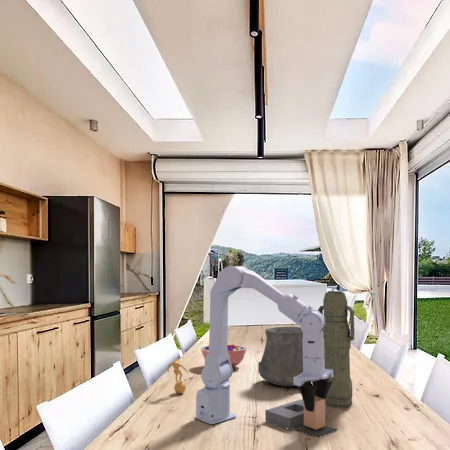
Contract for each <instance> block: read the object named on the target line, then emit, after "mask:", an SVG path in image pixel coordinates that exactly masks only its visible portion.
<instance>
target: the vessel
mask: <svg viewBox="0 0 450 450" xmlns="http://www.w3.org/2000/svg"><path fill="white" fill-rule="evenodd" d="M264 332H265V335H266V337H265V339H266V340H265V346H264V350H263V353H262V356H261V360H260V361H259V362H258V363H257V365H258V366H257V367H258V374H259V376H260V377H261V378H262V379H263V380H264V381H267V382H269V383H271V384H273V385H276V386H281V387H297V385H294V384H293V377H296V376H298V375H300V374H301V373H303V331H302V330H301V328H300V327H299V326H278V327H276V326H275V327H270V328H265V331H264Z"/></svg>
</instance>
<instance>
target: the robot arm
mask: <svg viewBox="0 0 450 450" xmlns="http://www.w3.org/2000/svg"><path fill="white" fill-rule="evenodd" d="M243 288H245V289H254V290H255V291H256V292H258V293H260V294H261V295H263V296H264V297H265V298H267V299H269V300H271V301H272V302H273V303H274V304H276V305H277V309H278V312H280V313H281V314H283V315H284V316H285V317H286V318H288V319H290V320H292V322H294V323H295V324H297V325H299V326H300V328H301V330H302V331H303V373H301V374H300V375H298V376H296V377H293V384H294V385H297V386H296V387H297V389H298V391H299V393H300V394H301V395H300V396H301V397H302V399H303V401H304V405H305V409H306V410H307V411H310V412H313V410H314V398H315V396H317V397H320V398H324V399H325V401H326V396H327V393H328V390H329V388H330V386H331V384H332V380H329V379H327V378H328V377H334V376H333V370H331V369H325V359H324V339H323V336H324V334H323V330H322V328H323V327H324V325H325V318H324V314H323V315H322V314H321V313H320V312H319V311H318V309H317V310H316V309H313V308H314V307H313V306H311V305H309V306H308V305H307V304H305V303H304V302H303V301H302V300H300V299H299V296H298V295H297V294H291V293H287V294H284V293H283V292H281V291H280V290H279V289H278V288H277V287H275V286H274V285H272V284H271V283H270V282H268V281H267V280H265V278H263V277H262V276H261V275H259V274H258V273H257V272H255V271H253V270H251V269H249V268H248V267H247V266H244V265H237V266H236V265H234V266H233V265H228V266H225V267H224V268H223V269H222V270H220V271H219V272H218V274H217V278H216V280H215V282H214V283H213V285H212V287H211V289H210V292H209V293H210V295H209V296H210V297H209V299H210V300H209V331H208V332H209V339H208V346H209V353H208V355H207V357H206V359H204V366H203V368H202V370H201V375H200V377H201V381H202V383H203V384H204V386H203V388H201V389H199V390H197V392H196V395H195V402H196V403H195V409H196V410H195V412H196V413H195V415H194V419H197V420H198V421H202V422H205V423H206V424H208V425H214V424H217V423H221V422H225V421H228V420H231V419H235V418H237V415H236V414H233V413H231V395H230V393H231V391H230V390H231V385H230V378H231V377H232V376H233V372H234V369H233V368H234V367H232V365H231V363H230V355H229V354H228V352H227V345H228V330H229V329H228V325H229V324H228V323H229V321H228V320H229V317H228V316H229V297H230V296H231V295H233V294H234V293H235V292H236V291H237V290H239V289H243ZM320 330H321V331H320Z"/></svg>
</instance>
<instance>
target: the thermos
mask: <svg viewBox="0 0 450 450" xmlns="http://www.w3.org/2000/svg"><path fill="white" fill-rule="evenodd" d="M317 310H318V311H319V312H320V313H321V314H322V315H323V316H324V318H325V325H324V327H323V328H322V330H323V334H324V336H323V339H324V359H325V369H331V370H333V376H334V377H328V378H327V379H329V380H332V384H331V386H330V388H329V390H328V393H327V396H326V401H325V405H326V404H327V405H326V406H328V405H329V406H328V407H332V406H334V407H333V408H340V407H341V408H349V407H352V406H353V395H354V394H353V381H352V379H351V364H350V363H351V361H350V349H351V342H353V341H354V340H355V314H354V313H355V312H354V309H353V308H352V307H351V306H349V305H348V299H347V295H346V294H345V292H343V291H342V290H341V291H340V290H329V291H327V292H325V294H324V296H323V301H322V305H320V306H319V307H318V309H317ZM348 311H349V314H348ZM348 316H349V321H348ZM349 325H350V326H349ZM320 331H321V330H320ZM351 405H352V406H351Z"/></svg>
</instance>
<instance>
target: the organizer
mask: <svg viewBox="0 0 450 450" xmlns="http://www.w3.org/2000/svg"><path fill="white" fill-rule="evenodd" d="M327 406H328V405H325V418H327V417H328V410H327V409H328V407H327ZM264 415H265V422H266V421H267V422H266V423H269V422H270V423H269V424H272V423H273V424H272V425H275V424H276V425H275V426H278V425H279V426H278V427H280V426H282V427H281V428H283V427H285V428H284V429H286V428H288V429H287V430H289V429H291V430H293V429H292V428H295V427H298V426H301V425H304V401H303V398H302V399H298V400H295V401H291V402H288V403H285V404H281V405H279V406H275V407H271V408H269V409H265V413H264ZM326 416H327V417H326Z"/></svg>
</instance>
